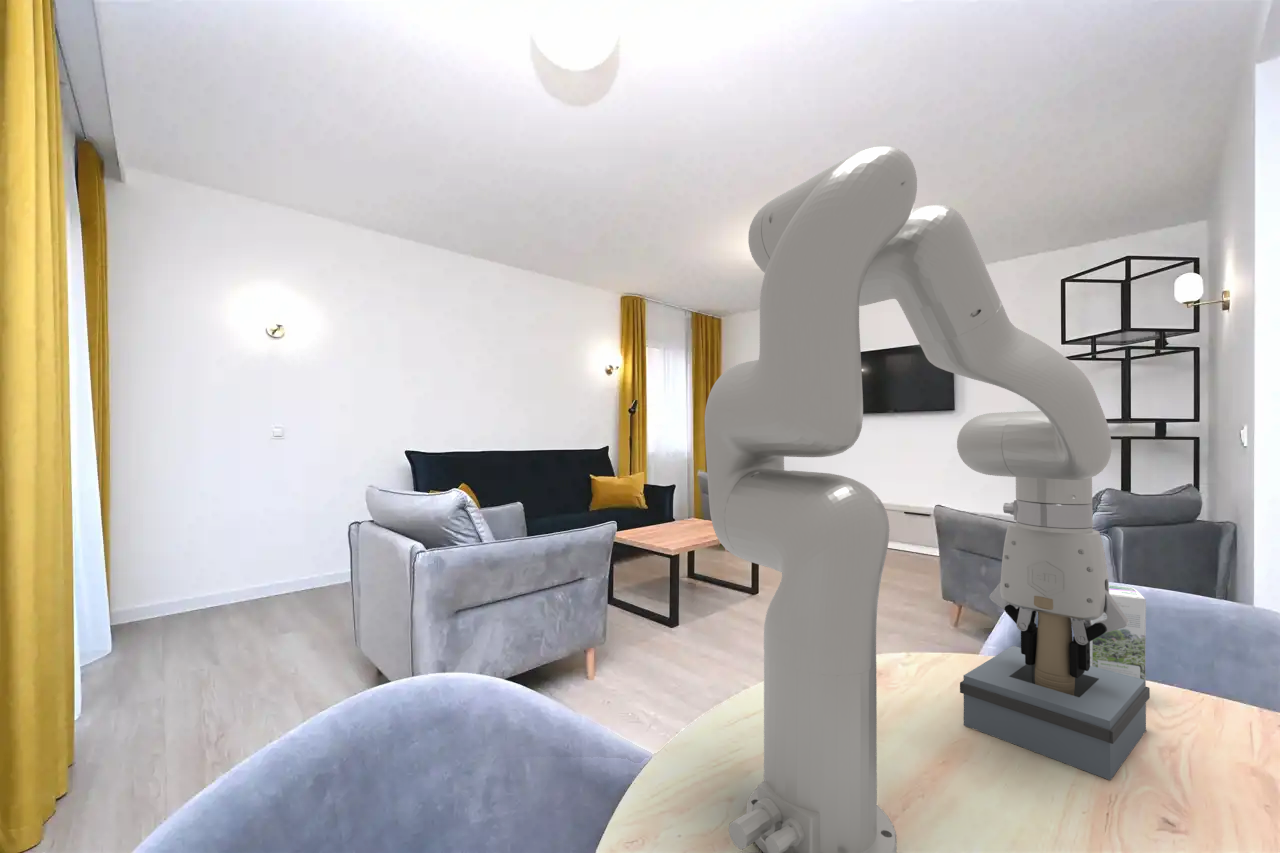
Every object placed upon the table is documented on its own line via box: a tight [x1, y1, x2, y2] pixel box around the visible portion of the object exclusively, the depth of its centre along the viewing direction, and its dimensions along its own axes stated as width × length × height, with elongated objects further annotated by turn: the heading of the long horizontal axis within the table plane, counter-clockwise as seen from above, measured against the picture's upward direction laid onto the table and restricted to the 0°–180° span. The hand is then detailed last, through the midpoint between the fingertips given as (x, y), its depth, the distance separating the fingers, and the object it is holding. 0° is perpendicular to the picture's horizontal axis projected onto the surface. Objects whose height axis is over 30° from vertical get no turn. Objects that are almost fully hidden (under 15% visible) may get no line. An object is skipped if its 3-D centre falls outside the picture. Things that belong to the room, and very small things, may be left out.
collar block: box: [959, 645, 1151, 781], centre depth 68 cm, size 17×15×6 cm
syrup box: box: [1090, 584, 1147, 680], centre depth 77 cm, size 6×6×14 cm
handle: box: [1034, 596, 1075, 696], centre depth 69 cm, size 5×6×15 cm
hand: (1054, 666), depth 69 cm, fingers closed on handle, 3 cm apart
